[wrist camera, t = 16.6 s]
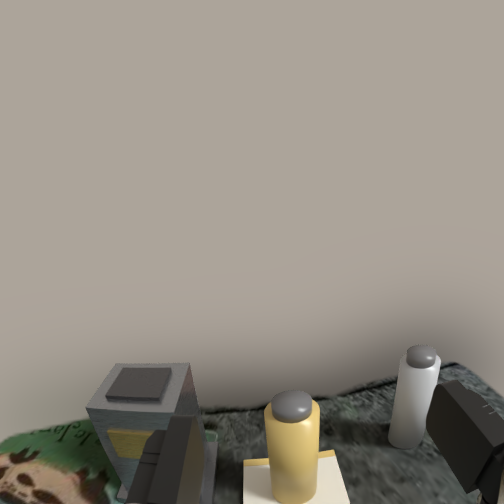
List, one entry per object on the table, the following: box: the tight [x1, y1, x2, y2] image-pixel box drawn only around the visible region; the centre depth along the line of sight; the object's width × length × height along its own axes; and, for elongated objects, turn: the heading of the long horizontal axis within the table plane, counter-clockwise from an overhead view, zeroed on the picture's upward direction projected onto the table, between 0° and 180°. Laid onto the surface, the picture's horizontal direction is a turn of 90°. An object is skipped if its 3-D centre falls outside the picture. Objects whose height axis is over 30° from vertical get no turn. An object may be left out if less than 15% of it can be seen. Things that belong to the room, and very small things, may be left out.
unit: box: [86, 363, 219, 504], centre depth 27 cm, size 10×10×13 cm
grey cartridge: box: [388, 345, 441, 449], centre depth 29 cm, size 4×4×12 cm
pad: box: [243, 450, 350, 504], centre depth 26 cm, size 10×10×1 cm
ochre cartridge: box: [264, 390, 320, 504], centre depth 24 cm, size 4×4×12 cm
